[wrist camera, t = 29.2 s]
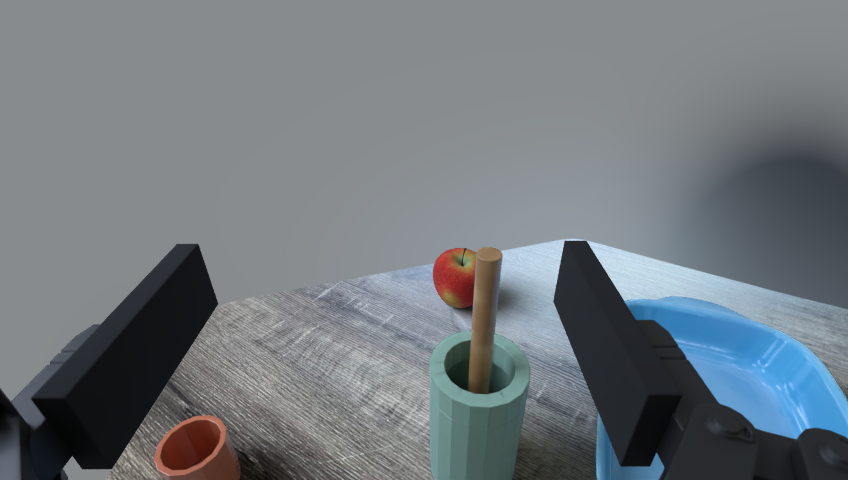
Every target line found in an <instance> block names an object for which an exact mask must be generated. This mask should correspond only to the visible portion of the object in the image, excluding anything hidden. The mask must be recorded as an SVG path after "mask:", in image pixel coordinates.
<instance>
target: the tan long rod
mask: <svg viewBox="0 0 848 480" xmlns="http://www.w3.org/2000/svg"><path fill="white" fill-rule="evenodd" d="M501 265H502V253H501V251H499V250H498V249H496V248H492V247H484V248H481V249H479V250H478V251H477V253H476V267H475V283H474V299H473V315H472V330H471V346H470V362H469V378H468V390H466V391H468V392H471V393H474V394H490V393H489V384H490V374H491V364H492V354H493V344H494V334H495V324H496V315H497V305H498V295H499V285H500V275H501Z"/></svg>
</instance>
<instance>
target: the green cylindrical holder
mask: <svg viewBox="0 0 848 480" xmlns="http://www.w3.org/2000/svg"><path fill="white" fill-rule="evenodd" d="M470 346H471V330H469V331H464V332H459V333H456V334H453V335H451V336H449V337H448V338H446V339H444V340H442V342H441V343H440V344H439V345H438V346H437V347H436V348H435V349H434V350H433V353H432V356H431V359H430V460H431V472H432V475H433V478H434V480H512V478H513V474H514V469H515V463H516V458H517V452H518V446H519V440H520V434H521V429H522V423H523V417H524V411H525V405H526V399H527V394H528V388H529V382H530V366H529V363H528V360H527V358H526V355H525V354H524V353H523V352H522V351H521V350H520V348H519V347H518V346H517V345H516V344H515V343H513V342H511V341H510V340H508V339H506V338H505V337H503V336H501V335H497V334H494V344H493V354H492V364H491V374H490V384H489V393H490V394H474V393H471V392H468V391H466V390H468V378H469V362H470Z"/></svg>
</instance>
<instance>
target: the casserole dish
mask: <svg viewBox="0 0 848 480" xmlns="http://www.w3.org/2000/svg"><path fill="white" fill-rule="evenodd" d="M624 302H625V303H626V305H627V306H628V308H629V310H630V311H631V313H632V314H633V316H634V318H635V319H636V320H654V321H656V322H657V323H658V324H660V325H661V326H662V327H663V328H665V329H666V330H667V331H669V333H670V334H671V336H672V337H673V338H674V340H675V341H676V343H677V344H678V347H679V348H681V350H682V351H683V353H684V354H685V356H686V359H687V360H689V361H690V363H691V364H692V366H693V367H694V368H695V370H696V371H697V373H698V374H699V375H700V377H701V378H702V380H703V381H704V383H705V384H706V385H707V387H708V388H709V390H710V391H711V393H712V394H713V395H714V397H715V398H716V400H717V401H718V402H719V404H722V405H725V406H728V407H731V408H732V409H734V410H736V411H737V412H739V413H741V414H742V415H743V416H744V417H745V418H746V419H748V420H749V421H750V422H751V423H752V424H753V426H754V428H756V429H759V430H762V431H766V432H770V433H774V434H778V435H782V436H786V437H789V438H793V439H797V438H798V436H799V435H800V434H801V433H802V432H803V431H804V430H805V429H809V428H821V429H826V430H831V431H833V432H835V433H838V434H840V435H842V436H845V437H846V438H848V400H847V398H846V396H845V394H844V393H843V391H842V389H841V388H840V386H839V385H838V383H837V382H836V380H835V379H834V377H833V376H832V374H831V373H830V371H829V370H828V369H827V367H826V366H825V365H824V364H823V362H822V361H821V360H820V359H819V358H818V357H817V356H816V355H815V354H814V353H813V352H812V351H811V350H810V349H809V348H807V347H806V346H805V345H803V344H802V343H801V342H799V341H798V340H796V339H794V338H793V337H791V336H789V335H787V334H785V333H784V332H782V331H779V330H777V329H775V328H772V327H769V326H767V325H764V324H762V323H759V322H756V321H753V320H751V319H748V318H746V317H744V316H742V315H740V314H738V313H736V312H734V311H732V310H730V309H728V308H726V307H723V306H720V305H717V304H714V303H711V302H707V301H703V300H698V299H692V298H686V297H665V298H661V299H658V300H649V299H633V300H627V301H624ZM663 470H664V466H663V464H662V462H661V460H660V458H659V456H658V454H657V453H656V455H655V457H654V459H653V462H652V464H651V466H650V467H620V464H619V462H618V460H617V457H616V455H615V452H614V450H613V447H612V445H611V442H610V440H609V437H608V435H607V432H606V430H605V427H604V425H603V422H602V420H601V418H600V415H599V413H598V414H597V436H596V478H597V480H659V478H660V476H661V474H662V472H663Z"/></svg>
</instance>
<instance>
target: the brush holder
mask: <svg viewBox="0 0 848 480" xmlns="http://www.w3.org/2000/svg"><path fill="white" fill-rule="evenodd" d="M154 462H155V464H156V467H157V470H158V472H159V473H160V475H161V477H162V479H163V480H239V479H240V475H241V467H240V462H239V459H238V457H237V454H236V452H235V449H234V447H233V444H232V442H231V439H230V437H229V434H228V432H227V429H226V427H225V425H224V424H223V422H222V420H220V419H218V418H216V417H213V416H210V415H207V416H195V417H193V418H190V419H188V420H185V421H183V422H181V423H179V424H178V425H177V426H175V427H174V428H173V429H171V430H170V431H169V432H168V433H166V435H165V436H164V437H163V439H162V440H161V441H160V443H159V444H158V446H157V449H156V453H155V456H154Z"/></svg>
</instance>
